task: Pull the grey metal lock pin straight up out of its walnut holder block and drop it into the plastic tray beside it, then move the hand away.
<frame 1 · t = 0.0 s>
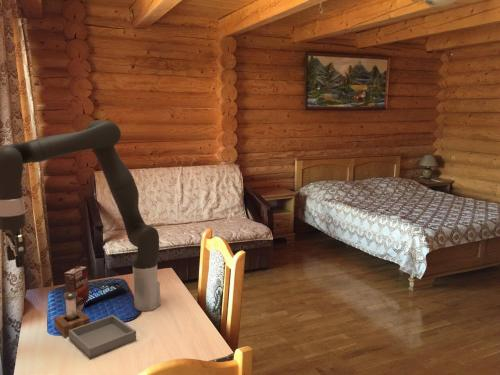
hand: (15, 263, 131), 29 cm above the table, tool pointing down, fingers open, 8 cm apart
pin holder: (72, 328, 150), on the table
supplement box: (78, 308, 165), on the table
tray: (102, 340, 142), on the table
lock pin: (71, 310, 149), in the pin holder
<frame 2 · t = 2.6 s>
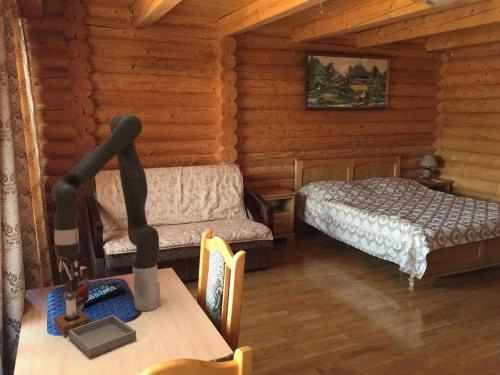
hand: (69, 285, 147), 16 cm above the table, tool pointing down, fingers open, 8 cm apart
nothing on the table moved.
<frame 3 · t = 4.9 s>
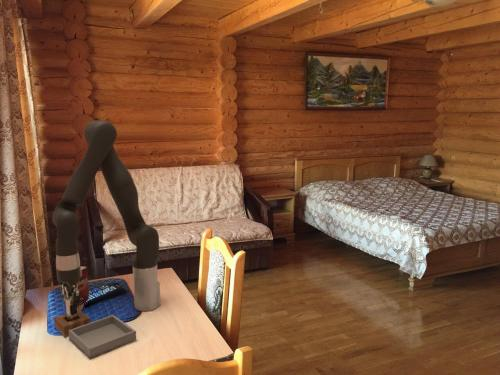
hand: (71, 312, 149), 6 cm above the table, tool pointing down, fingers closed on lock pin, 3 cm apart
lock pin: (71, 310, 149), in the pin holder, touching gripper
everything else where it was.
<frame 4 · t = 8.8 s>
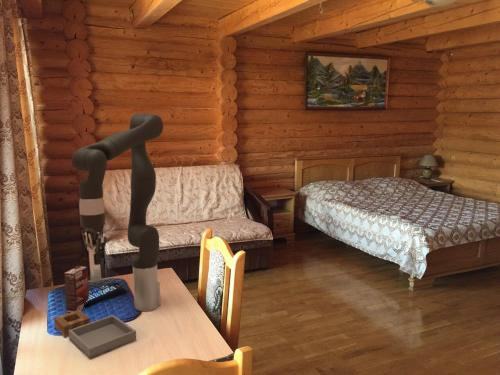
hand: (95, 262, 138), 27 cm above the table, tool pointing down, fingers closed on lock pin, 3 cm apart
lock pin: (94, 261, 138), point 28 cm above the table, touching gripper
everything else where it was.
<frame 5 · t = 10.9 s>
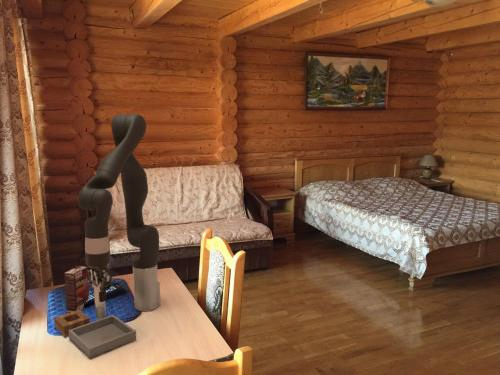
hand: (100, 299, 140), 15 cm above the table, tool pointing down, fingers closed on lock pin, 3 cm apart
lock pin: (99, 298, 140), point 15 cm above the table, touching gripper
everything else where it was.
when the fingers open (9 cm above the table, at t = 12.7 s): lock pin moves 1 cm, resting on tray.
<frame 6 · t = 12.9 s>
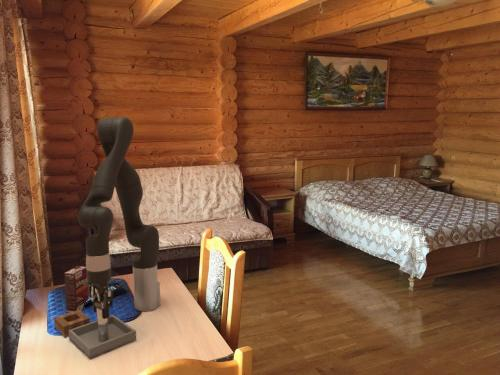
hand: (101, 314, 141), 9 cm above the table, tool pointing down, fingers open, 6 cm apart
lock pin: (102, 320, 140), in the tray, point 7 cm above the table
everything else where it was.
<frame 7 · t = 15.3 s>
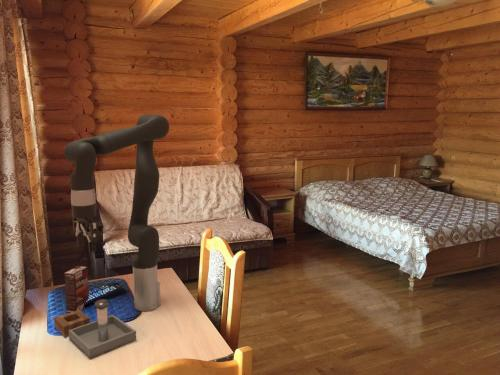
hand: (86, 249, 143), 30 cm above the table, tool pointing down, fingers open, 8 cm apart
nothing on the table moved.
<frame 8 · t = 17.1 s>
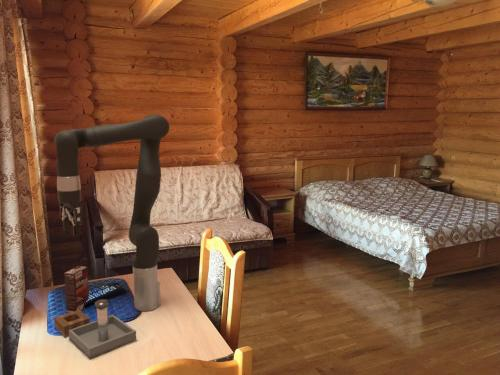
hand: (72, 233, 151), 33 cm above the table, tool pointing down, fingers open, 8 cm apart
nothing on the table moved.
at the end: lock pin inside the target area on the tray (0.8 cm from its centre), point 7.4 cm above the tray's base; lock pin moved 16.3 cm from its start; the gripper is holding nothing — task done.
